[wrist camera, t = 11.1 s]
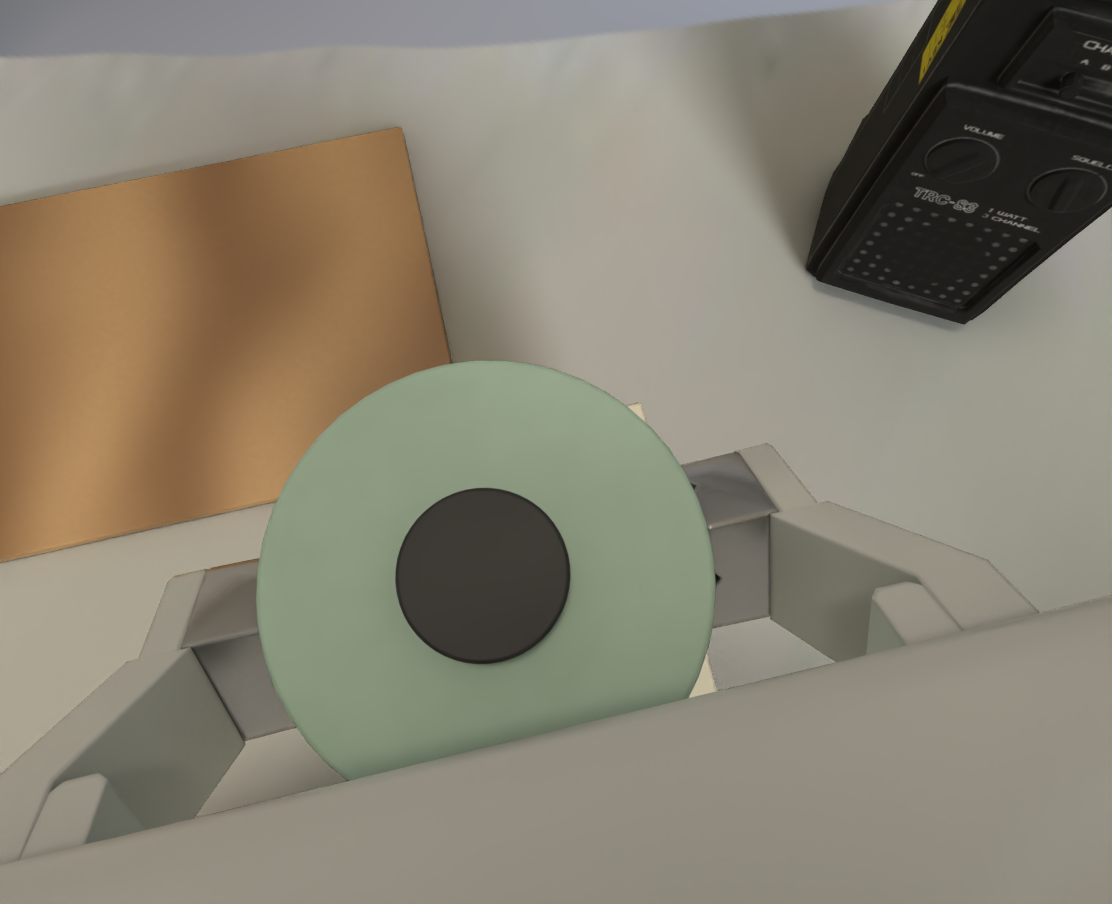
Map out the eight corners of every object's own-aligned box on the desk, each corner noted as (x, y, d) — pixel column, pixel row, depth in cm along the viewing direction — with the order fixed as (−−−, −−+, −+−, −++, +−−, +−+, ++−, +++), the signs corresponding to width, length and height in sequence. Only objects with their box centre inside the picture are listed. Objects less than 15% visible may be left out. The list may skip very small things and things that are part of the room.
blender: (410, 786, 22) (170, 1058, 8) (360, 505, 23) (92, 323, 10) (690, 718, 22) (929, 860, 8) (622, 448, 24) (726, 195, 10)
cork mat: (-15, 566, 29) (-27, 565, 28) (-39, 222, 32) (-50, 215, 31) (472, 458, 30) (470, 454, 29) (403, 134, 33) (401, 125, 32)
